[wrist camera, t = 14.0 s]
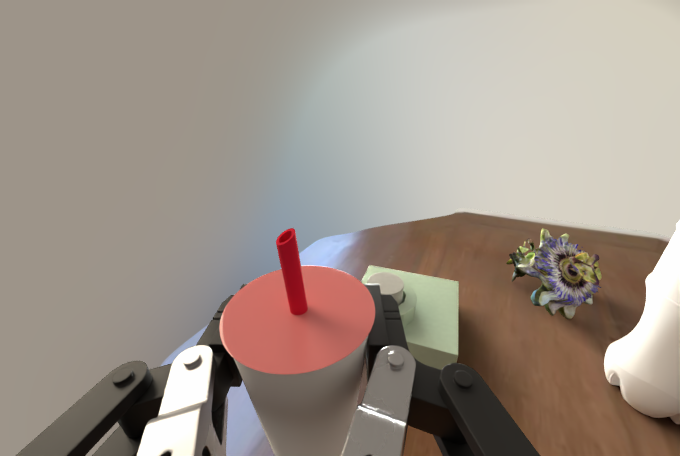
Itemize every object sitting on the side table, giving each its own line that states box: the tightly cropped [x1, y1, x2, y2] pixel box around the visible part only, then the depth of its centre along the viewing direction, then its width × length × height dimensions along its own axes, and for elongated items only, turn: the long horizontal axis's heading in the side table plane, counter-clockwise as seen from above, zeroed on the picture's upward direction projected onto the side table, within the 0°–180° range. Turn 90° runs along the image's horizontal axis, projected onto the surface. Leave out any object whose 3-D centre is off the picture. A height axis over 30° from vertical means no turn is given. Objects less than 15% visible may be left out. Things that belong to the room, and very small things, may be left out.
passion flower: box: [506, 228, 601, 319], centre depth 37 cm, size 11×11×12 cm
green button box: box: [361, 265, 459, 370], centre depth 33 cm, size 12×12×6 cm
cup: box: [219, 228, 375, 456], centre depth 11 cm, size 5×5×12 cm
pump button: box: [367, 272, 404, 306], centre depth 31 cm, size 4×4×2 cm
